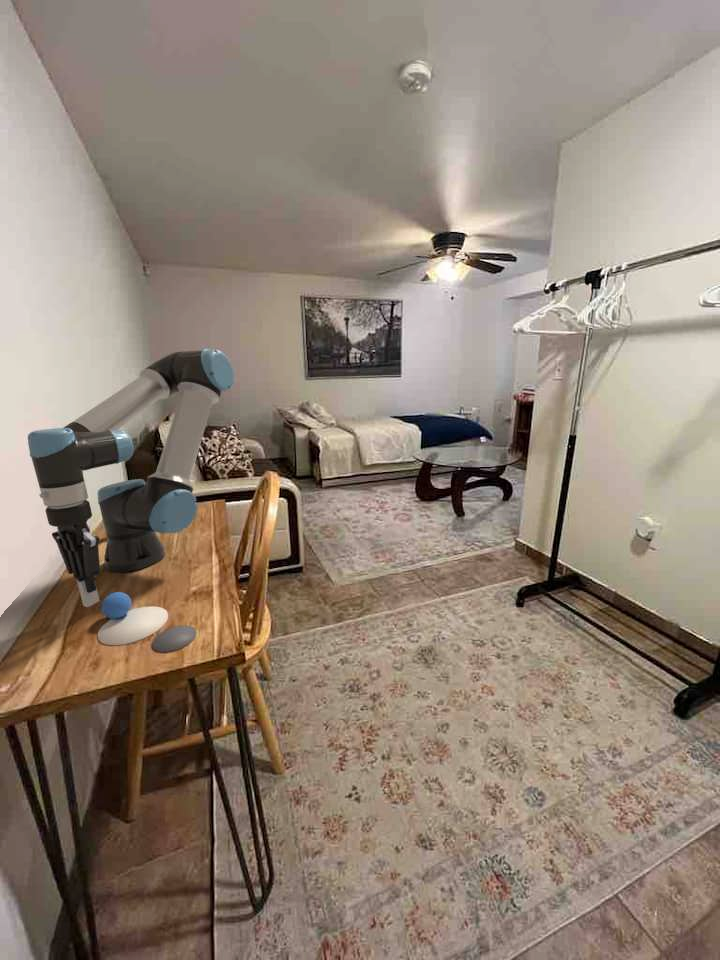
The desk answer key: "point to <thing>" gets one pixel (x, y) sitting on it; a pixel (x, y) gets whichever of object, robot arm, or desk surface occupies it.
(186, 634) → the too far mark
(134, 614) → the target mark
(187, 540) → the desk surface
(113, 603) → the ball
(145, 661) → the desk surface
